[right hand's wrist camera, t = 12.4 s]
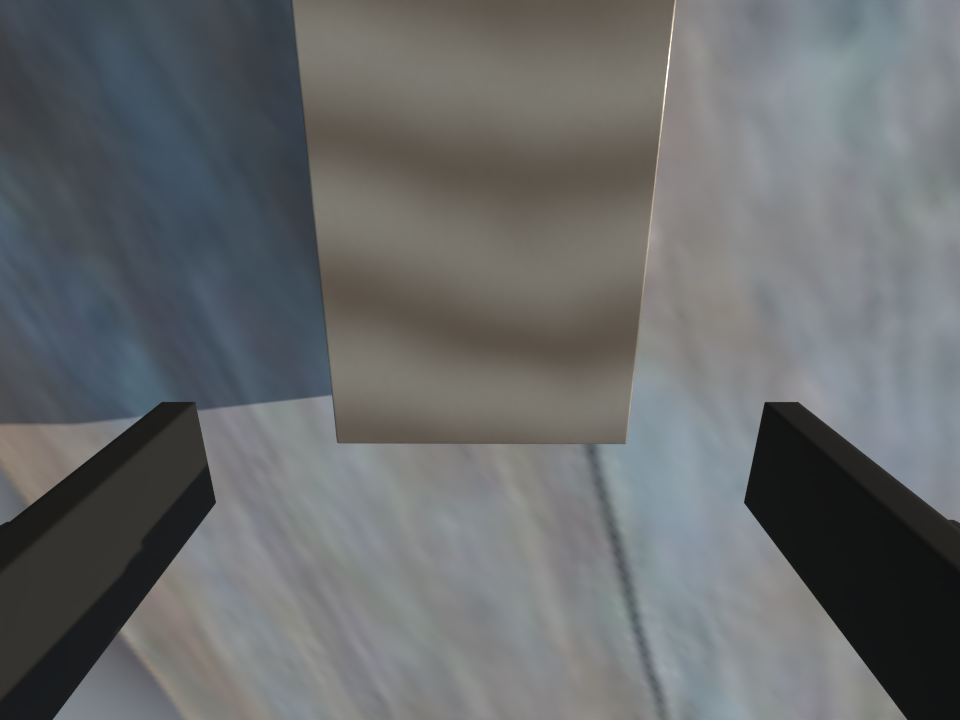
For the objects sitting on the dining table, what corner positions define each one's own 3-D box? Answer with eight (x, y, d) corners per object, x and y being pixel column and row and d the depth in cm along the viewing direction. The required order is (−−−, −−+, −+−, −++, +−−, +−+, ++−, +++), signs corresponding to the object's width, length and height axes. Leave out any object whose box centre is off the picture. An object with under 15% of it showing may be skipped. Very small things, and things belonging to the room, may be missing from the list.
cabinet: (340, -127, 21) (260, -284, 14) (626, -126, 21) (709, -283, 14) (375, 366, 29) (336, 444, 21) (587, 366, 29) (627, 444, 21)
